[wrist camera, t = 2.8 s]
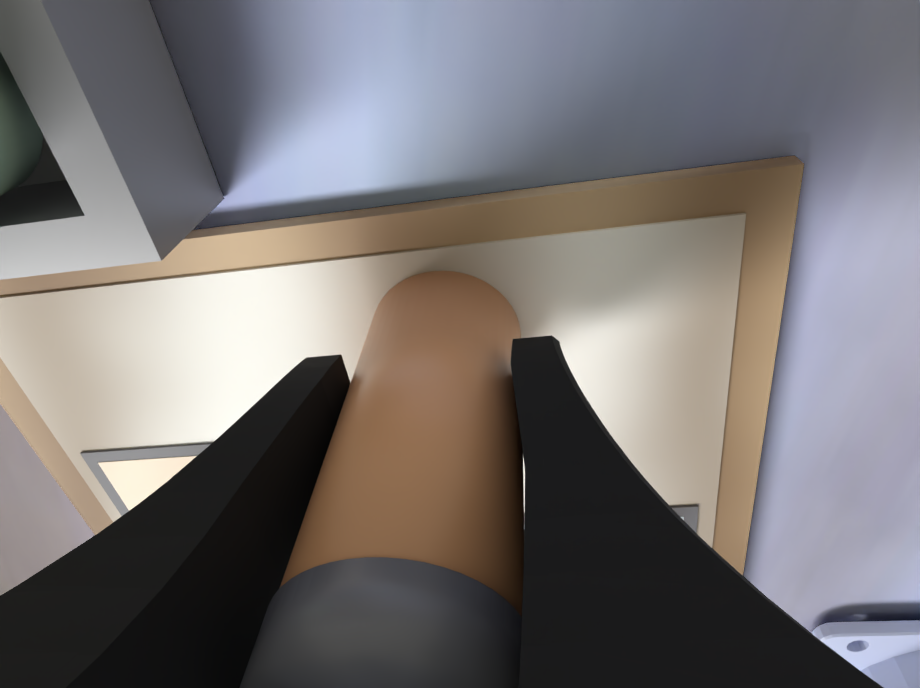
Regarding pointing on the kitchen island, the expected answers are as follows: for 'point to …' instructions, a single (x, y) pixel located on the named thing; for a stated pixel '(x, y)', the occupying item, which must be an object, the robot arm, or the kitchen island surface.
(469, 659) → the marker
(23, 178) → the button
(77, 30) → the button housing
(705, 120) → the kitchen island surface
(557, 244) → the cream board
